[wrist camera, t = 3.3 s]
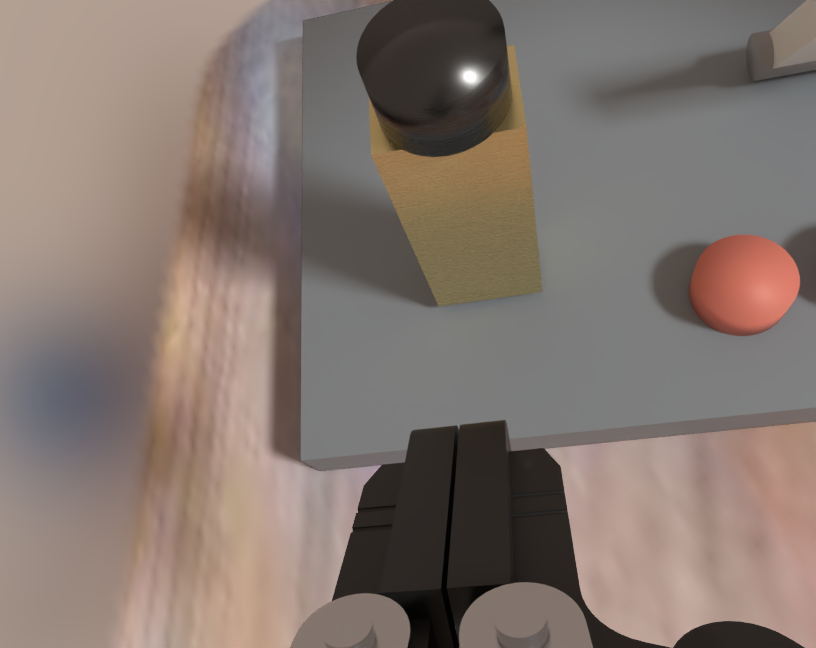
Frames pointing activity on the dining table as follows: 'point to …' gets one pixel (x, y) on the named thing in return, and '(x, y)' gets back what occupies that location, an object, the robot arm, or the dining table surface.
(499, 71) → the slide lever
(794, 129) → the control board
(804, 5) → the cream rectangular block
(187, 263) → the dining table surface
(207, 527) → the dining table surface
